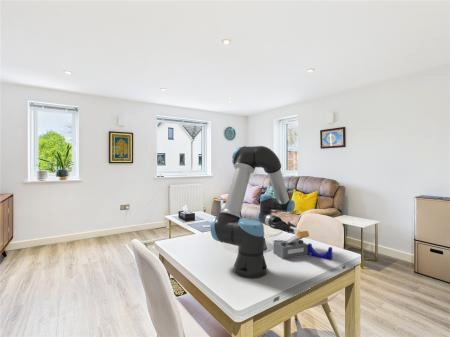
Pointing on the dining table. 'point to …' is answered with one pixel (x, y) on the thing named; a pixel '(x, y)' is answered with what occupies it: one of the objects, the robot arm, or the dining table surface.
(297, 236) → the breaker lever
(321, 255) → the cable clip
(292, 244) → the block
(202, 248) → the dining table surface
